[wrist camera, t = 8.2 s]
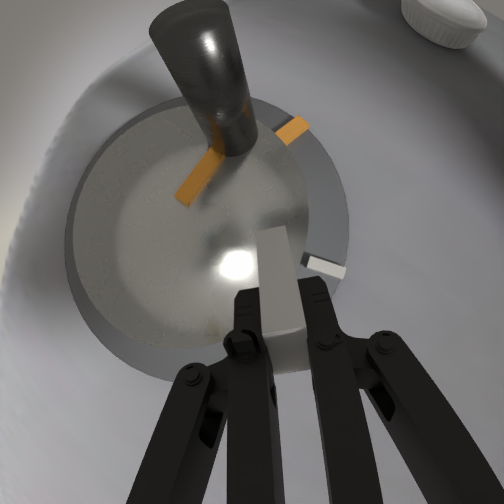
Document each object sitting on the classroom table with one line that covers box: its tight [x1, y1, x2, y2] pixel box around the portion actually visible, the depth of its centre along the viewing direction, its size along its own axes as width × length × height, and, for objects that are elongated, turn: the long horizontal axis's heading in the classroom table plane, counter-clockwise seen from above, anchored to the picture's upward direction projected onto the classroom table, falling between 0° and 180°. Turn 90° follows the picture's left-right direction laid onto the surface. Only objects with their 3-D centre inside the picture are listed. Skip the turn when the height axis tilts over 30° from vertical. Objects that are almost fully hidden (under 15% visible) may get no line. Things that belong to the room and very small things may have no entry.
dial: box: [73, 0, 309, 349], centre depth 16 cm, size 18×18×13 cm
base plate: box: [64, 97, 349, 382], centre depth 23 cm, size 24×24×2 cm
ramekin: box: [401, 0, 487, 49], centre depth 22 cm, size 11×11×5 cm
